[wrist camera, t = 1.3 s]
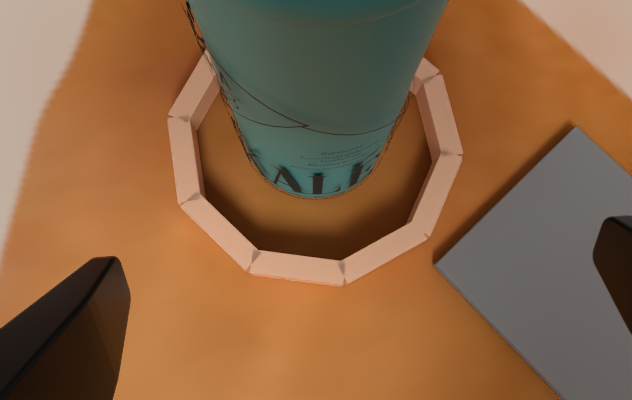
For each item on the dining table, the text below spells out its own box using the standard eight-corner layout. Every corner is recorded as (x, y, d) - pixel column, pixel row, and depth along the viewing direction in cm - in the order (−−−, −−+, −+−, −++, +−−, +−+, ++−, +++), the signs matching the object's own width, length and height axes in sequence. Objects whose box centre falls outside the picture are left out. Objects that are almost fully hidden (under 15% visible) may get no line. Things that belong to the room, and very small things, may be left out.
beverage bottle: (331, 60, 24) (409, -948, 5) (409, 165, 23) (931, -610, 4) (221, 127, 23) (-225, -762, 4) (296, 240, 22) (184, -244, 3)
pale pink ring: (444, 300, 22) (454, 299, 20) (147, 261, 22) (137, 258, 20) (460, 46, 25) (470, 29, 23) (199, 11, 25) (193, -8, 23)
